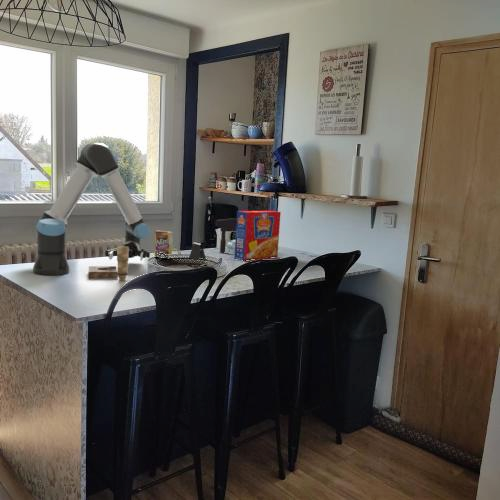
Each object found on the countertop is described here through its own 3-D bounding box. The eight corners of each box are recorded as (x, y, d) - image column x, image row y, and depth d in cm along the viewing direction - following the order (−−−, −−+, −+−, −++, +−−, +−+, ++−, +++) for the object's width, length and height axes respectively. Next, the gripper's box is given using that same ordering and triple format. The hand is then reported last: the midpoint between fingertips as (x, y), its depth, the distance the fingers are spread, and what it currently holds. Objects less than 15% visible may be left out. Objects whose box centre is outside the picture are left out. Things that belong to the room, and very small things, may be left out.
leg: (116, 281, 210) (117, 247, 208) (116, 279, 215) (117, 246, 212) (128, 281, 212) (129, 247, 209) (127, 279, 216) (128, 246, 214)
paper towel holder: (207, 217, 302) (247, 216, 324) (206, 251, 305) (245, 248, 327) (223, 220, 290) (263, 219, 312) (222, 255, 293) (261, 251, 316)
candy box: (154, 258, 270) (154, 230, 268) (157, 256, 274) (158, 230, 272) (168, 259, 267) (169, 232, 265) (172, 258, 271) (173, 231, 269)
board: (88, 278, 213) (88, 271, 212) (88, 272, 224) (88, 266, 223) (117, 278, 216) (117, 271, 216) (115, 272, 228) (115, 266, 227)
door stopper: (193, 267, 251) (195, 244, 249) (186, 265, 255) (187, 242, 254) (207, 265, 258) (208, 243, 256) (199, 263, 262) (201, 241, 260)
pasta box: (243, 261, 276) (246, 212, 272) (234, 259, 282) (237, 211, 277) (277, 258, 296) (280, 211, 291) (267, 255, 301) (270, 210, 297)
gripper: (155, 257, 243) (153, 266, 223) (104, 255, 240) (97, 264, 219) (156, 242, 242) (154, 249, 222) (104, 240, 239) (97, 247, 218)
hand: (125, 257), depth 220 cm, fingers open, 13 cm apart
